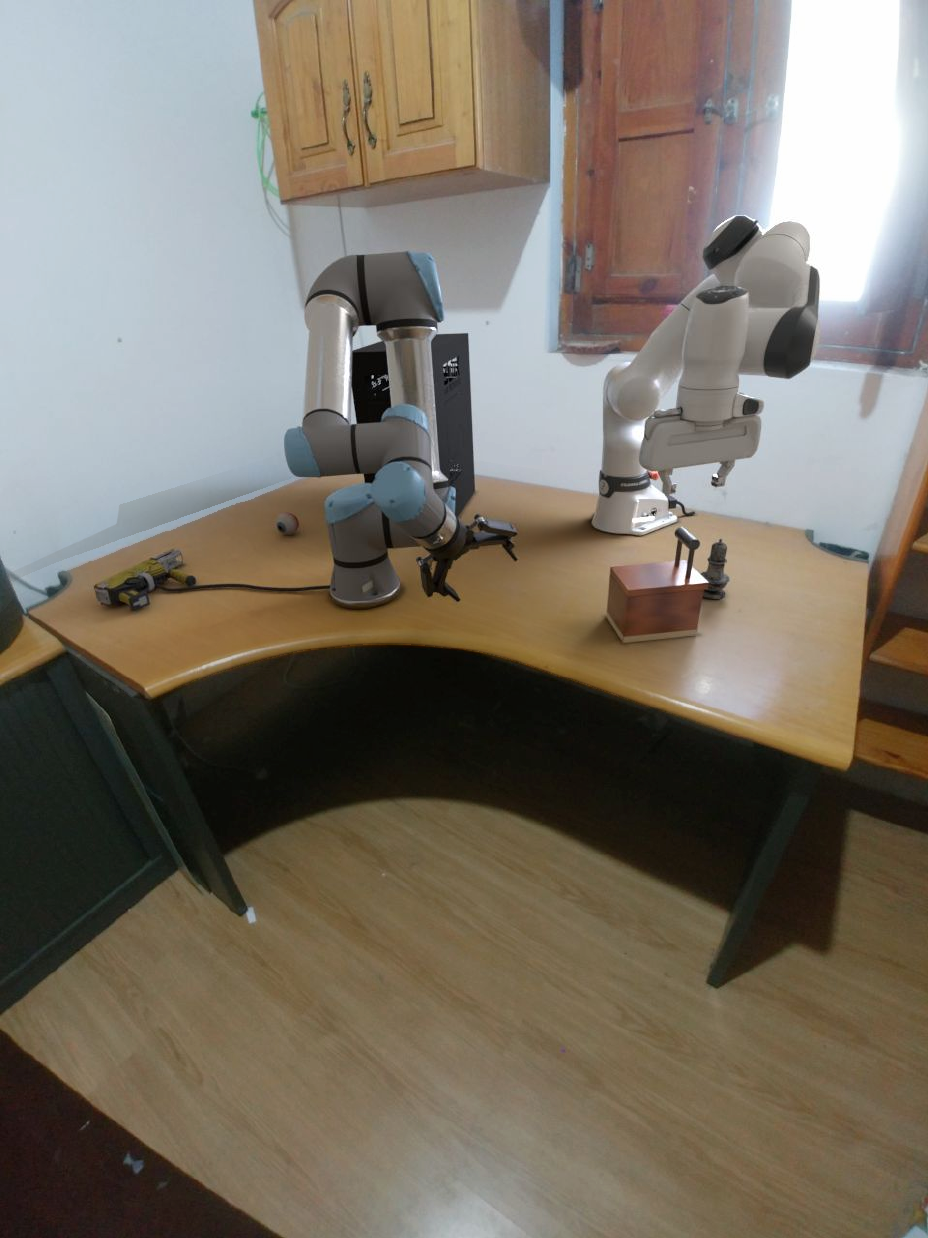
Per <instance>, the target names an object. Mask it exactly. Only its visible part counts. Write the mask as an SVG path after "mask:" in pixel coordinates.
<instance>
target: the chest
mask: <svg viewBox="0 0 928 1238" xmlns="http://www.w3.org/2000/svg"><path fill="white" fill-rule="evenodd" d="M703 592H704V589H701V590H691V591H681V592H671V593H661V594H651V595H641V596H631V597H628V596H627V595H626V594H625V592H624V591H623V590H622V588H621V587H620V586H619V584H618V583H617V582H616V581H615V579H614V578H613V577H612V575H611V574H610V573H609V579H608V591H607V606H606V614H605V615H606V616H605V617H606V619H607V621H608V623H610V625H611V627H612V628H613V629H614V631H615V633H616V635H617V636H618V638H619V639H620V640H621V642H622V644H627V643H637V642H645V641H647V642H648V641H654V640H655V641H656V640H666V639H674V638H675V639H677V638H684V637H693V636H697V635H698V634H697V633H698V627H699V621H700V614H701V609H702V603H703V598H704V597H703Z"/></svg>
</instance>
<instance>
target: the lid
mask: <svg viewBox="0 0 928 1238" xmlns="http://www.w3.org/2000/svg"><path fill="white" fill-rule="evenodd" d="M674 537H675V538H676V539H677V543H676V549H675V550H676V551H675V556H674V557H675V558H674V560H671V561H660V562H649V563H647V562H646V563H638V564H637V563H636V564H627V565H617V566H610V567H609V569H610V570H609V575H610V574H611V575H612V577H613V578H614V579H615V581H616V582H617V583H618V584H619V586H620V587H621V588H622V590H623V591H624V592H625V594H626V595H627V596H628V597H631V596H641V595H651V594H661V593H671V592H681V591H691V590H701V589H708V584H709V582H708V581H707V580H706V579H705V578H704V577H703V576H701V575H700V573H699V572H698V570H696V569H695V568H694V567H693V565H694V564H693V563H694V558H695V551H696V550H698V549H699V548H700V547H701V542H700V540H699V539H698V538H697V537H696V536H694V535H693V534H692V533H690V531H688V530H687V529H686V528H685V527H683V526H681V527H678V528H676V529H675V531H674ZM683 545H684V546H685V547H686V548H687V549H689V550H688V557H687V560H686V559H681V557H682V548H683Z"/></svg>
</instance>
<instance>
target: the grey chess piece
mask: <svg viewBox="0 0 928 1238" xmlns="http://www.w3.org/2000/svg"><path fill="white" fill-rule="evenodd" d="M727 551H728V545H727V543H724V542H723V538H719V539H718V541H716V542H714V543H713V544H712V545H711V549H710V555H709V556H708V557H707V561H708V564H707V569H706V571H702V572H700V573H699V574H700V575H701V576H703V577H704V578H705V579H706V580H707V581H708V582H709V584H708V589H704V592H703V598H706V599H711V600H717V599H722V598H724V597H725V596H726V591H724V589H725V588H726V586H727V585H728V583H729V582H730V580H731V578H730V576H729V575H728V574H726V573H725V565H726V564H727V562H728V559H726V557H727Z"/></svg>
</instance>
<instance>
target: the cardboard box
mask: <svg viewBox="0 0 928 1238" xmlns="http://www.w3.org/2000/svg"><path fill="white" fill-rule="evenodd" d="M469 341H470V340H469V332H462V333H461V332H460V333H459V332H458V333H457V332H455V333H437V334H436V335H435V337H434V338H433V339H432V341H431V354H432V368H433V383H434V397H435V411H436V425H437V439H438V453H439V466H440V471H441V473H443V474H444V475H445V476H446V477H447V478H448V487H450V486H451V487H453V488H455V490H456V496H455V515H456V516H457V517H458V518H459V517H460V515H461V513H462V512H463V510H464V509H465V507H466V506H467V504H468V503H469V501H470V500H471V499H472V497H473V495H474V494H475V492H476V482H475V480H476V477H475V459H474V457H475V455H474V432H473V412H472V410H473V409H472V388H471V387H472V386H471V367H470V366H471V365H470V364H471V363H470V344H469V343H470V342H469ZM449 363H450V364H449ZM351 395H352V401H353V407H354V414H355V415H354V416H355V421H356V423H355V424H364V423H379V422H381V419H382V415H383V413H384V412H385V411H386V410H387V409H388V408H391V397H390V386H389V375H388V364H387V353H386V345H385V343H384V342H383V341H382V340H380V341H377V342H374V343H371V344H368V345H365V346H362V347H358V348H356V349H352V387H351ZM376 474H377V473H370V474H363V481H364V483H370V484H372V483H373V482H374V479H375V475H376Z"/></svg>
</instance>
